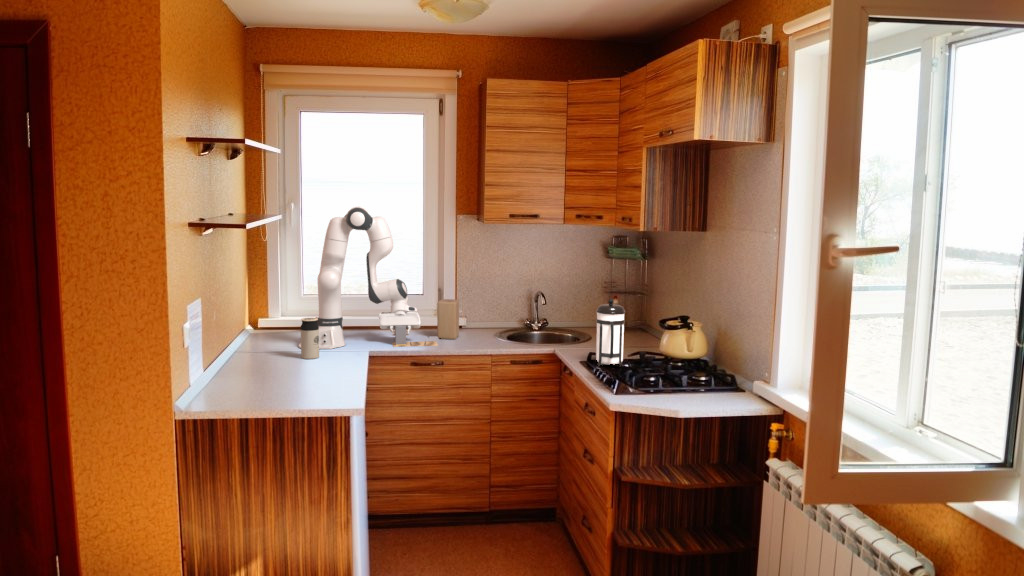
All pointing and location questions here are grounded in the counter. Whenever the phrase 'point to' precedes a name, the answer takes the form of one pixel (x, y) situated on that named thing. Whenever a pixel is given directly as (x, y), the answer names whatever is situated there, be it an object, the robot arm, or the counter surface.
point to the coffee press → (610, 333)
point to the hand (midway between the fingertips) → (400, 334)
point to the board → (417, 344)
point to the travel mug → (309, 338)
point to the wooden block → (448, 319)
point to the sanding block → (400, 335)
